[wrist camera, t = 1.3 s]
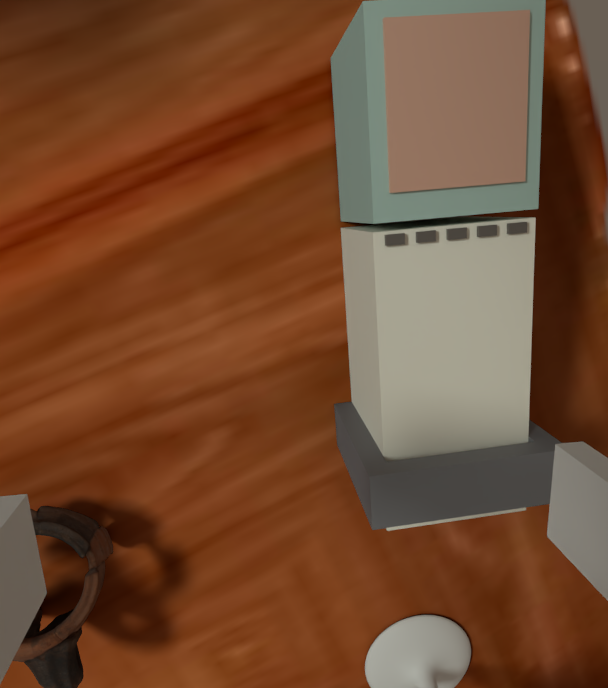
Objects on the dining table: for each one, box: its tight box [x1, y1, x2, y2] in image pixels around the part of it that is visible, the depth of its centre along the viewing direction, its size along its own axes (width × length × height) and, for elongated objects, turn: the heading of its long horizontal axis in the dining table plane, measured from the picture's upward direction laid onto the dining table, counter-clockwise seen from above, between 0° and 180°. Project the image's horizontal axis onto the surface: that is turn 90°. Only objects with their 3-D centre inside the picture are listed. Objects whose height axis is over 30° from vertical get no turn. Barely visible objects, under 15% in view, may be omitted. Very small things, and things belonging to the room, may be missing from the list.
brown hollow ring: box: [12, 506, 113, 688], centre depth 32 cm, size 12×10×8 cm
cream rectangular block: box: [334, 217, 561, 531], centre depth 29 cm, size 16×10×10 cm, turn 5°
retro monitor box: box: [331, 0, 546, 224], centre depth 26 cm, size 9×8×8 cm
